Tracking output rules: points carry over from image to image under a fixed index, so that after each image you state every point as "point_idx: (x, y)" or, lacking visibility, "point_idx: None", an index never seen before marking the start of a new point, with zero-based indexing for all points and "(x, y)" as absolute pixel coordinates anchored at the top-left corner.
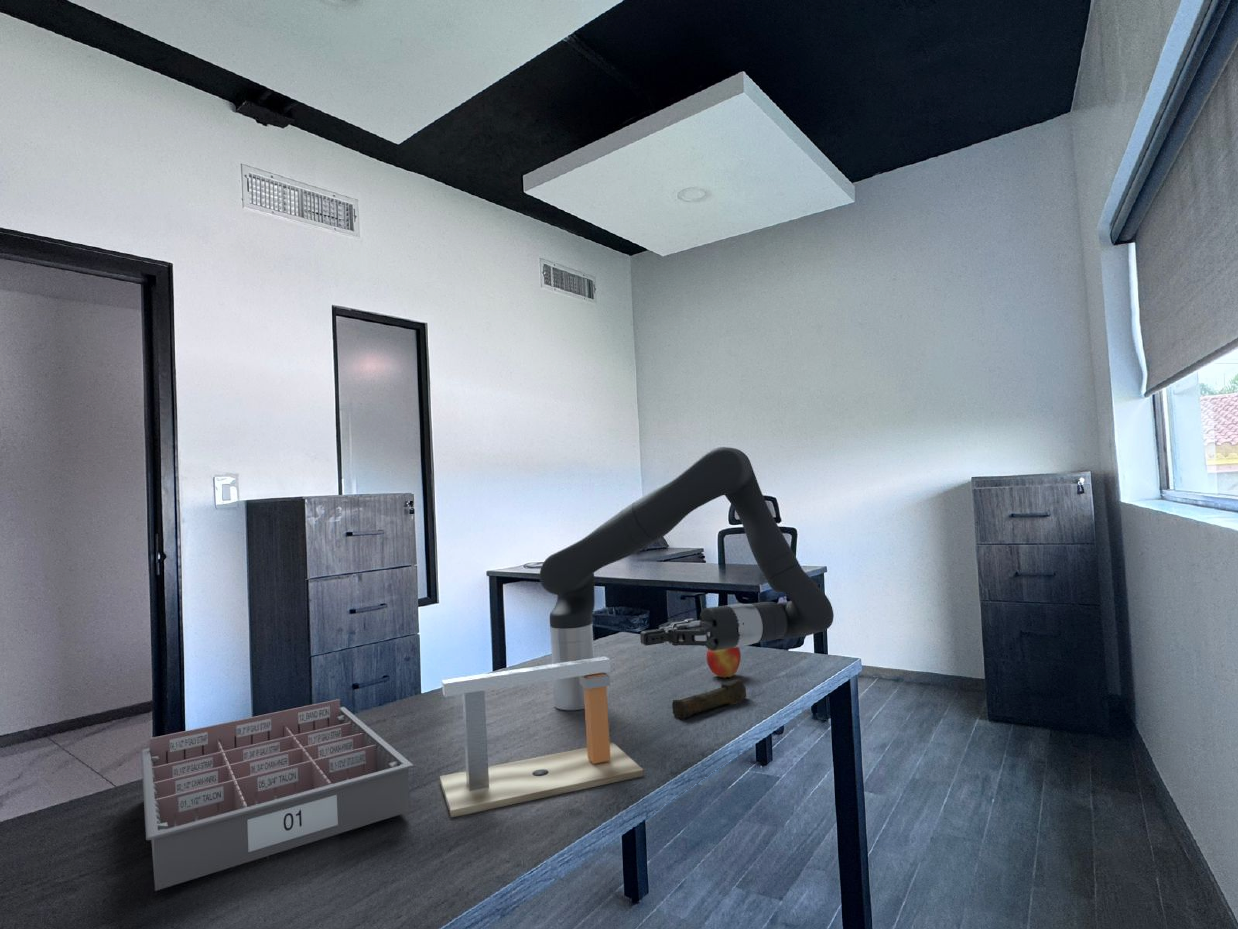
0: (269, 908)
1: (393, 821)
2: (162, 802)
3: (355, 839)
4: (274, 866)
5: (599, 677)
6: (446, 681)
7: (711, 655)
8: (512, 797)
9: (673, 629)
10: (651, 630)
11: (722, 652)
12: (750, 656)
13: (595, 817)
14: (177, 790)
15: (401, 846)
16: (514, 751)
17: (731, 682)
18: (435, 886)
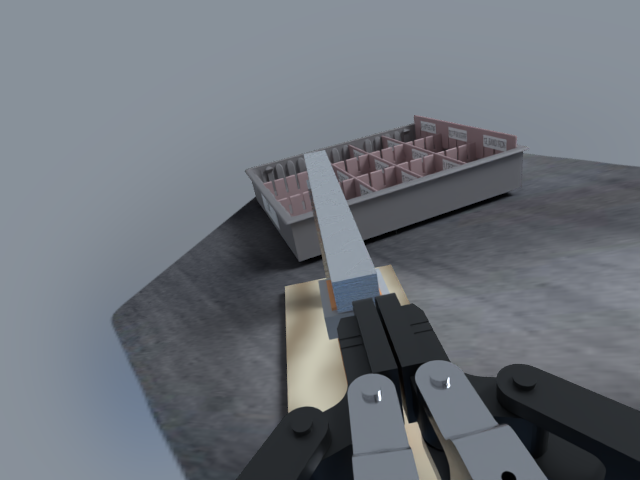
0: (210, 240)
1: (305, 260)
2: None
3: (283, 248)
4: (268, 227)
5: (321, 300)
6: (314, 153)
7: None
8: (286, 330)
9: (308, 416)
10: (395, 324)
11: None
12: None
13: (183, 427)
14: (354, 156)
15: (249, 273)
16: (501, 325)
17: None
18: (162, 302)
